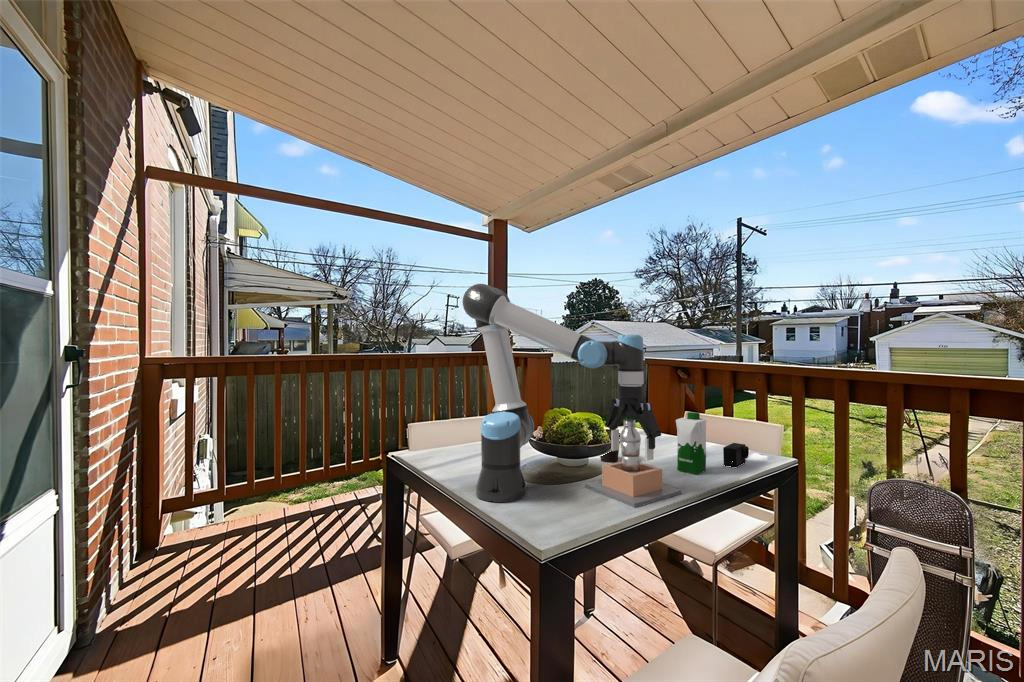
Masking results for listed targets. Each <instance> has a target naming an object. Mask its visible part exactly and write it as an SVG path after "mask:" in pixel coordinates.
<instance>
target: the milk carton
mask: <svg viewBox="0 0 1024 682" xmlns="http://www.w3.org/2000/svg"><path fill="white" fill-rule="evenodd" d="M686 413H687V414H686V415H687V416H686V417H680V418H679V417H678V418H677V419H675V425H676V431H677V433H676V437H677V439H676V440H677V441H676V443H677V445H676V447H677V450H676V451H677V452H676V453H677V462H676V463H677V464H676V465H677V467H676V468H677V469H676V471H677V470H681V471H680V472H682V471H685V472H684V473H686V472H689V473H688V474H691V473H693V474H692V475H696V474H697V475H699V473H700V474H702V473H704V472H706V470H707V468H706V467H707V440H706V439H707V437H706V436H707V433H706V432H707V419H704V418H700V417H701V416H700V412H694V411H693V412H692V411H691V412H690V411H689V412H686ZM703 471H704V472H703ZM701 472H702V473H701Z"/></svg>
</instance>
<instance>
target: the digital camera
mask: <svg viewBox="0 0 1024 682" xmlns="http://www.w3.org/2000/svg"><path fill="white" fill-rule="evenodd" d="M749 450H750V449H749V446H748V445H747V446H746V444H744V443H739V442H738V443H737V442H732V443H730V444H728V445H726V446H724V447H723V450H722V451H723V466H724V465H725V466H724V467H726V466H731V467H730V468H732V467H737V468H739V467H740V466H739V465H741V464H743V463H744V464H746V463H747V459H748V458H749V455H750V451H749ZM732 461H733V462H732ZM745 462H746V463H745ZM744 464H743V465H744ZM738 466H739V467H738ZM741 466H742V465H741Z"/></svg>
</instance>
